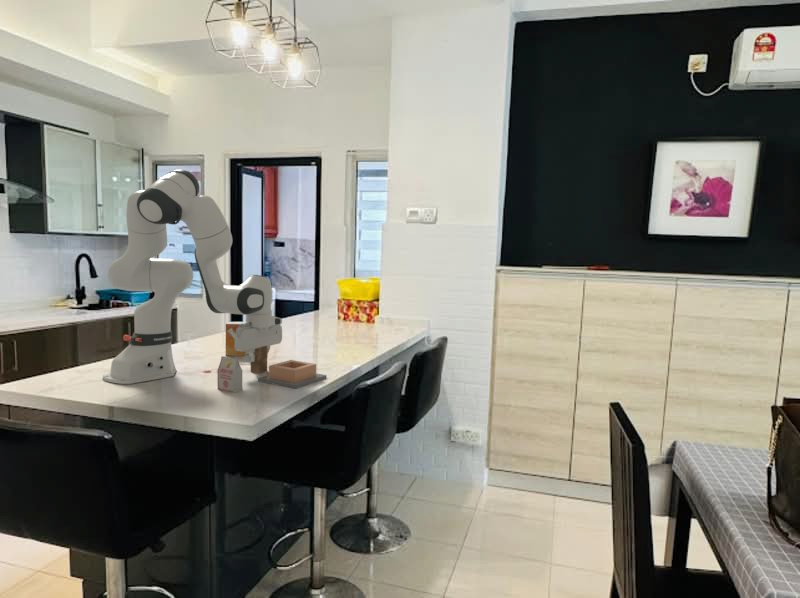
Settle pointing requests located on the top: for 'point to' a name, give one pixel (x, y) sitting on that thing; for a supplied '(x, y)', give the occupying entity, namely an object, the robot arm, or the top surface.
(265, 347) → the tall wooden block
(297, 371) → the tan square frame
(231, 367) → the white carton
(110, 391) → the top surface
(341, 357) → the top surface
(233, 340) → the small box
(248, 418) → the top surface
